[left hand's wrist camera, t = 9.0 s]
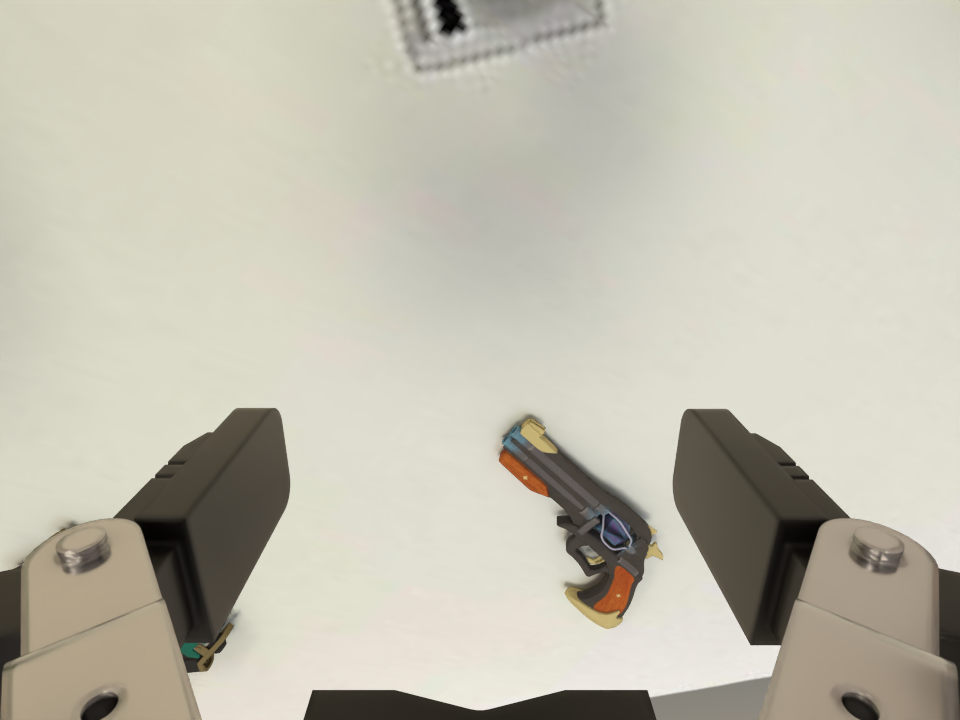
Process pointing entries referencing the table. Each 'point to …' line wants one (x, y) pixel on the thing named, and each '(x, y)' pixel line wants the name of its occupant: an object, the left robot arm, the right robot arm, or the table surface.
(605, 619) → the toy gun
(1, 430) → the table surface
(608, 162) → the table surface
